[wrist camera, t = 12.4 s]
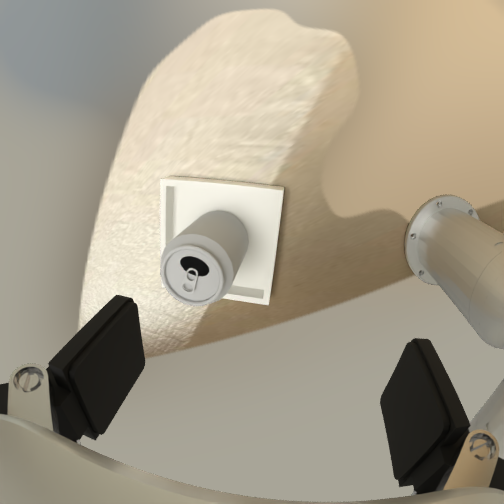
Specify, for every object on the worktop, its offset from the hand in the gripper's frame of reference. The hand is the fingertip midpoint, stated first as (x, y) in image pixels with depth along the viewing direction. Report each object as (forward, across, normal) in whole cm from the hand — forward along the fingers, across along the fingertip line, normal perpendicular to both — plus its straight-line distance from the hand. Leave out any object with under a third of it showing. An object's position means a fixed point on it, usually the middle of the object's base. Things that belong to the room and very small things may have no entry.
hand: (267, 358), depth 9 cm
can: (+28, +8, +6) cm, 30 cm away
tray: (+28, +8, +6) cm, 30 cm away
